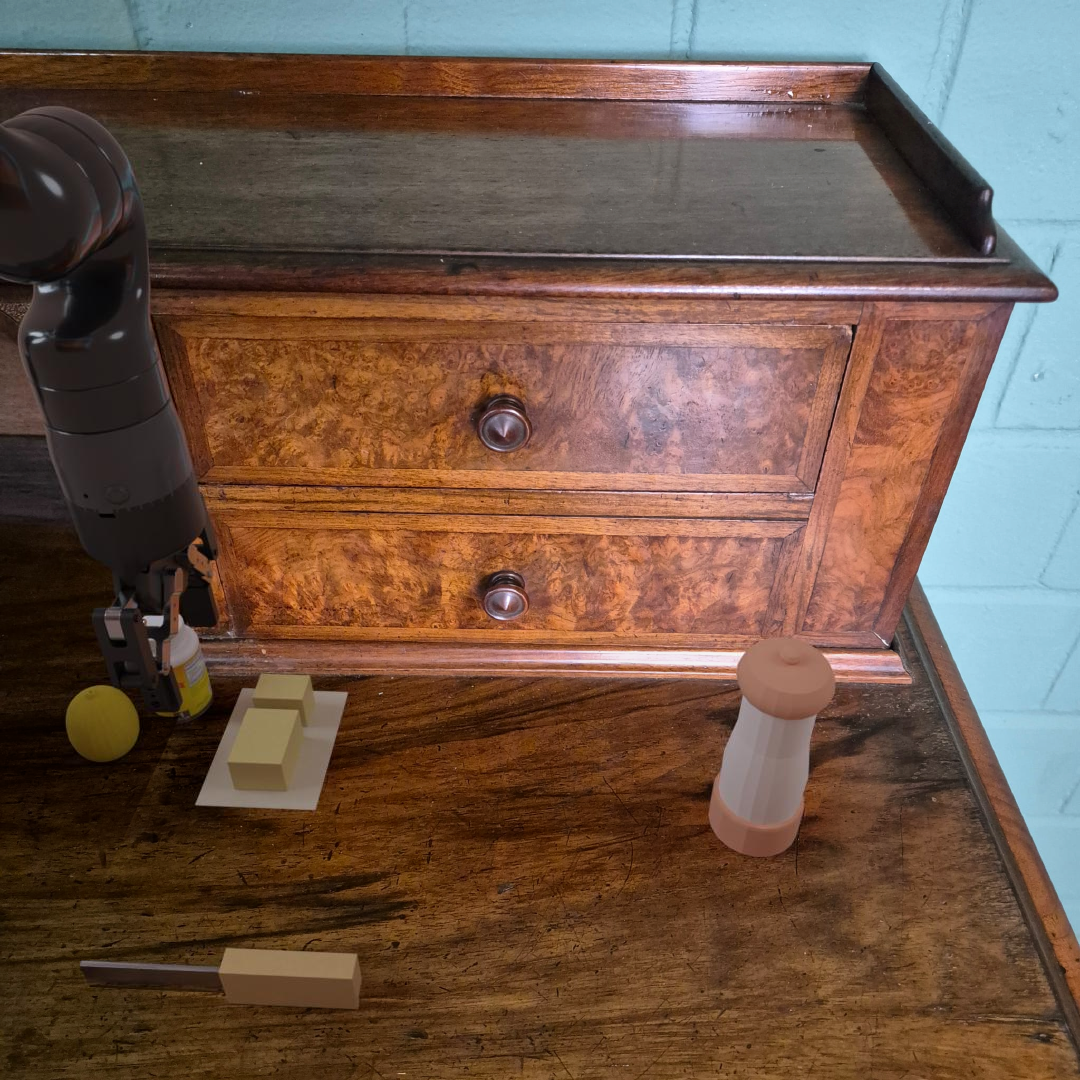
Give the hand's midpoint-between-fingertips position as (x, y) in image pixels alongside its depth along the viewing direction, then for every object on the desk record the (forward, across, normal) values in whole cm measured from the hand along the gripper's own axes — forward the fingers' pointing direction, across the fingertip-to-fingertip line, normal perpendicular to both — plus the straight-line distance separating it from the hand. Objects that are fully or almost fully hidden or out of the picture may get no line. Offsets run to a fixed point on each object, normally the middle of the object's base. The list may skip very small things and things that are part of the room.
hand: (186, 664), depth 67 cm
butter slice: (+17, -11, +2) cm, 20 cm away
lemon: (+18, -6, -12) cm, 22 cm away
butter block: (+17, -6, +2) cm, 18 cm away
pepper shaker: (+18, -1, +43) cm, 46 cm away
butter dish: (+18, -8, +2) cm, 19 cm away
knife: (+18, +14, +3) cm, 23 cm away
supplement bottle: (+18, -12, -8) cm, 23 cm away
